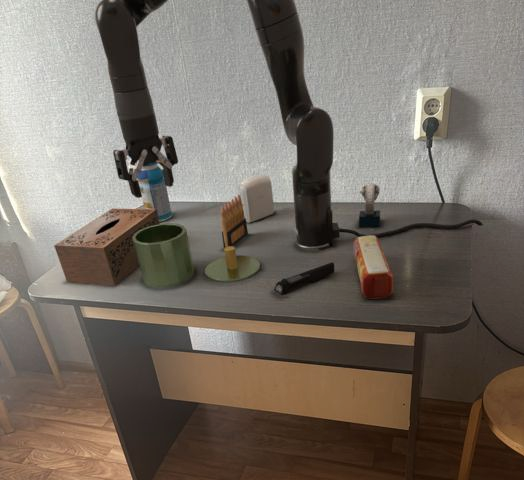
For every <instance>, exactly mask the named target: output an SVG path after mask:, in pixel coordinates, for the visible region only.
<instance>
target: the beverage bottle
mask: <svg viewBox="0 0 524 480" xmlns="http://www.w3.org/2000/svg"><path fill="white" fill-rule="evenodd" d="M137 180H138V182H139V186H140V190H141V194H142V197H141V200H142V204H143V209H157V213H158V218H159V222H160V223H162V222H165V221H168V220H170V219H171V218H172V216H173V213H172V212H173V211H172V209H171V202H170V198H169V193H168V186H166V185H165V181H164V177H163V172H162V168H161V166H159V163H158V162H155V163H150V164H148V165H146V166H142V169H141V171H140V172H139V174H138V177H137Z"/></svg>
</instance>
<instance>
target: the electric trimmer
mask: <svg viewBox="0 0 524 480" xmlns="http://www.w3.org/2000/svg"><path fill="white" fill-rule="evenodd" d="M334 272H335V263H334V261H333V262H329V263H325V264H323V265H321V266H317V267H314V268H312V269H309V270H306V271H303V272H301V273H299V274H295V275H292V276H289V277H287V278H282V279H281V280H279V281H277V283H276V284H275V286H274V292H276V293H278V294H279V295H280V296H284V295H287V294H288V293H289V292H291V291H294V290H296V289H298V288H301V287H303V286H306V285H308V284H315V283H317V282H319V281H321V280H323V279H325V278H327V277H328V276H330V275H332V274H333V273H334Z"/></svg>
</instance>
